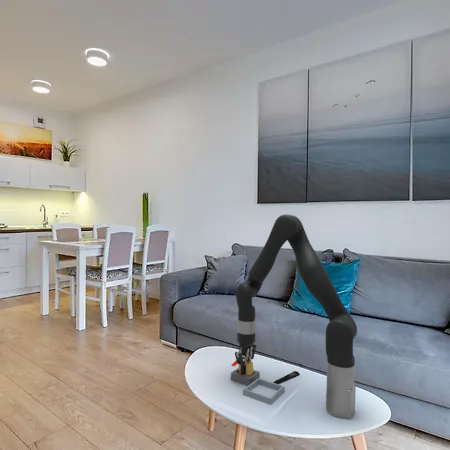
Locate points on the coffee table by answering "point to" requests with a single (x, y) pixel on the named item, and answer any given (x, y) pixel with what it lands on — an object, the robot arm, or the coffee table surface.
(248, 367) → the block
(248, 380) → the block
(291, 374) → the electric trimmer
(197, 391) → the coffee table surface
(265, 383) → the tray
